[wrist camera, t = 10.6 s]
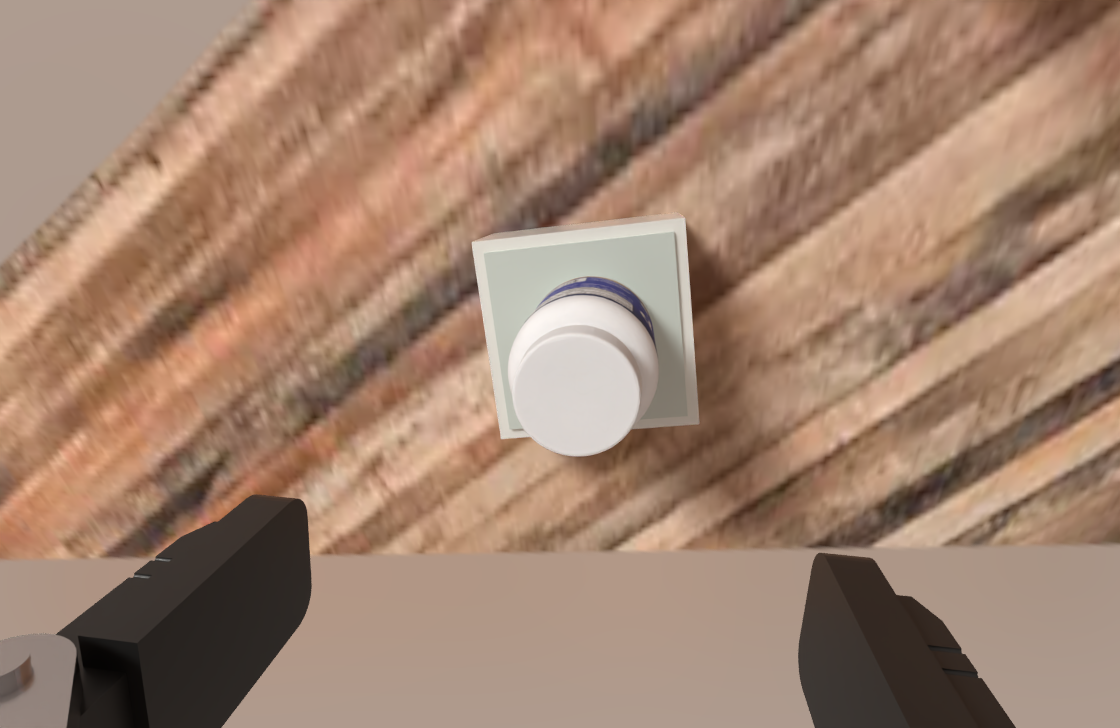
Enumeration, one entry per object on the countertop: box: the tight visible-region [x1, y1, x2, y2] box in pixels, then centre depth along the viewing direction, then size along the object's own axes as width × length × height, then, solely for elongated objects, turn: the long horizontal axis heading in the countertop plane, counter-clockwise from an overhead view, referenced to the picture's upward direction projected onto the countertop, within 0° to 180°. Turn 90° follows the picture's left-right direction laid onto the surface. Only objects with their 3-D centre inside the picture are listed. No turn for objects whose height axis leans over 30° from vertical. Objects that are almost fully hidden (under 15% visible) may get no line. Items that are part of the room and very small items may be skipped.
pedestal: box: [472, 212, 700, 439], centre depth 31 cm, size 9×9×5 cm
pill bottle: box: [508, 276, 659, 457], centre depth 24 cm, size 5×5×9 cm
